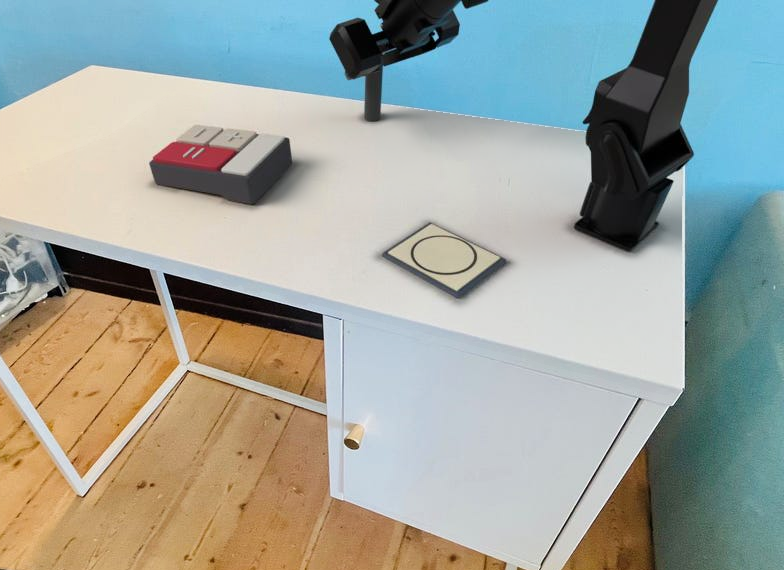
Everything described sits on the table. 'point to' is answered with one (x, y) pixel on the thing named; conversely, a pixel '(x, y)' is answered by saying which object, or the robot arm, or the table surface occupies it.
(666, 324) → the table surface
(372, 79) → the dot marker
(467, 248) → the coaster
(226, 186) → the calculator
